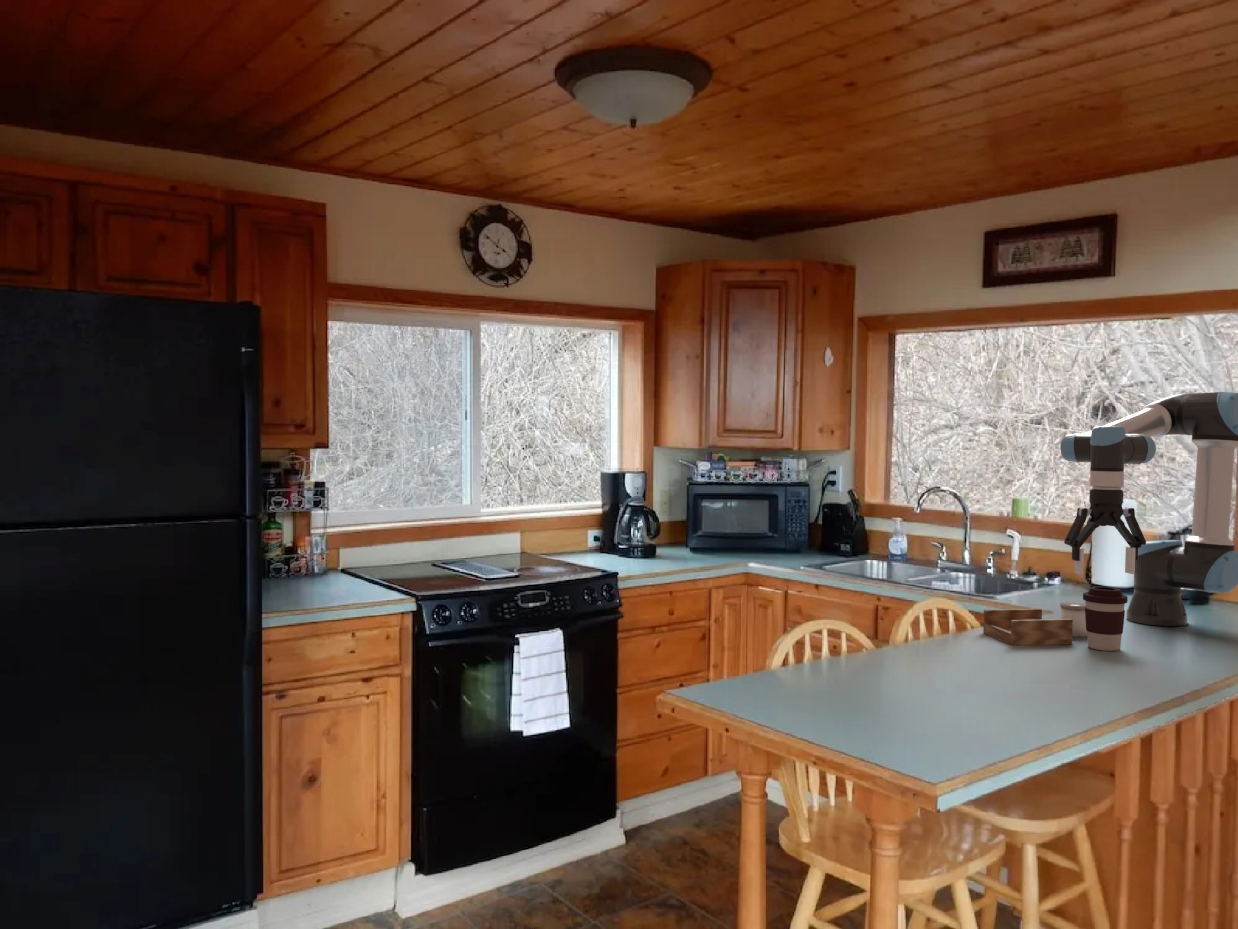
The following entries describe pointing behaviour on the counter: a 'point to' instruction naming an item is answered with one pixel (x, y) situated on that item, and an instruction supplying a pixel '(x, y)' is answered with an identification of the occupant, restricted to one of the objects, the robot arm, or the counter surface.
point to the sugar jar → (1075, 616)
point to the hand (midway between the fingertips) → (1104, 573)
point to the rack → (1026, 627)
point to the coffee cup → (1104, 617)
